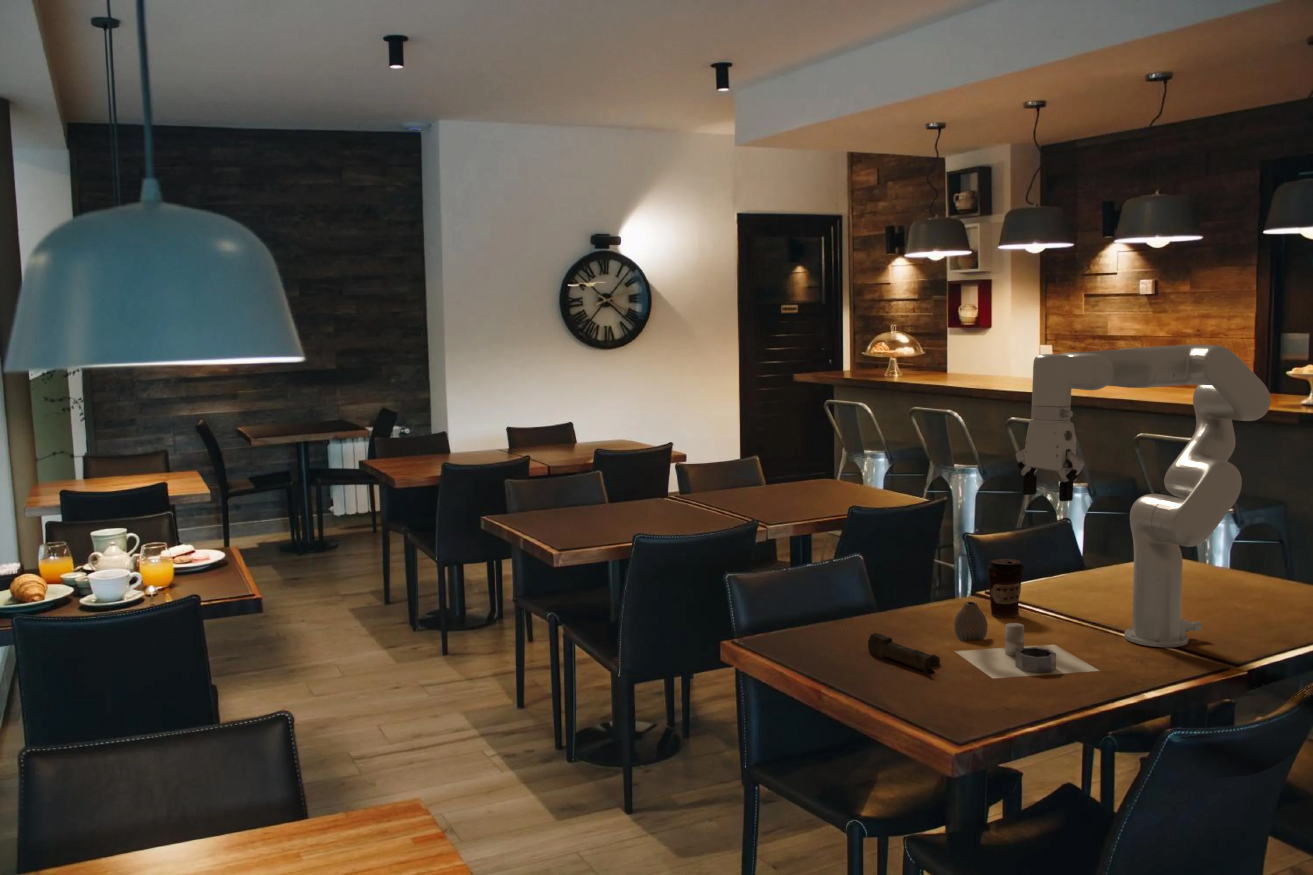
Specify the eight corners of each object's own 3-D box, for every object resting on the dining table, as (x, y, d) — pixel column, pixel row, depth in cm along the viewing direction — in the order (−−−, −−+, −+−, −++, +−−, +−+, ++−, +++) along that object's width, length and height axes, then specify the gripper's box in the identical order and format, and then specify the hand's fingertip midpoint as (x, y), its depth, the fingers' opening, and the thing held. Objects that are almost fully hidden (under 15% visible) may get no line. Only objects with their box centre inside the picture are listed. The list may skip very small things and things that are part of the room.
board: (1054, 651, 233) (1054, 616, 232) (1100, 678, 215) (1100, 640, 214) (954, 658, 230) (954, 622, 229) (992, 685, 212) (992, 647, 211)
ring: (1043, 660, 222) (1043, 646, 221) (1061, 671, 215) (1061, 656, 214) (1010, 663, 221) (1010, 648, 220) (1027, 674, 214) (1027, 658, 213)
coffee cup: (1028, 619, 257) (1029, 564, 256) (992, 620, 257) (993, 565, 256) (1017, 609, 266) (1017, 556, 265) (982, 610, 266) (982, 557, 265)
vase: (988, 647, 237) (988, 607, 236) (955, 646, 238) (955, 606, 237) (985, 638, 243) (986, 599, 242) (953, 637, 245) (953, 598, 244)
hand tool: (941, 673, 221) (941, 650, 221) (926, 676, 219) (926, 653, 219) (878, 650, 238) (878, 629, 237) (864, 653, 236) (864, 631, 235)
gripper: (1097, 417, 221) (1094, 502, 222) (1032, 411, 236) (1029, 491, 238) (1070, 418, 217) (1067, 504, 219) (1005, 412, 233) (1002, 493, 234)
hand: (1047, 497), depth 228 cm, fingers open, 9 cm apart
